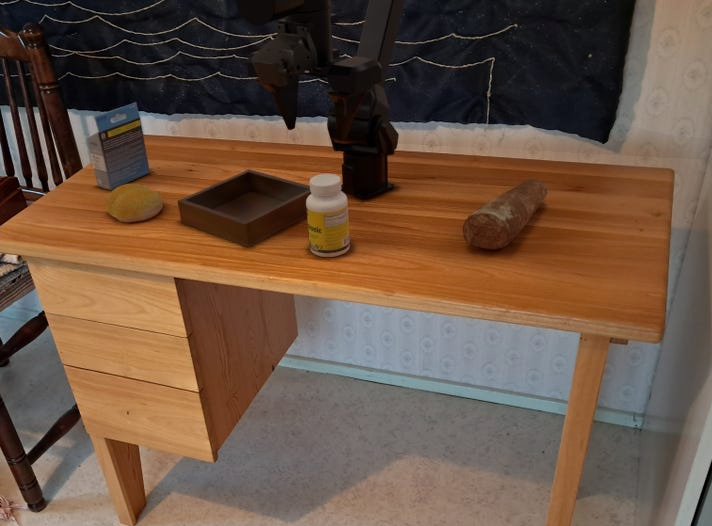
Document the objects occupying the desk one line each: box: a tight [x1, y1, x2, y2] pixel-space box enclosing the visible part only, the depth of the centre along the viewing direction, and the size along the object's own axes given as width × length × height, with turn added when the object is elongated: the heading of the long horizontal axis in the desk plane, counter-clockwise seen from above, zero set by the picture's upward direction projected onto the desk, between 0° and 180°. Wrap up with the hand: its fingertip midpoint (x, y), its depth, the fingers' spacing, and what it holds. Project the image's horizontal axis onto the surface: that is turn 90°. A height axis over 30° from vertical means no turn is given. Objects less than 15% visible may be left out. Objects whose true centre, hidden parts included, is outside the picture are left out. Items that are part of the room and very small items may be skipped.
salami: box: [462, 178, 548, 250], centre depth 98 cm, size 6×19×6 cm, turn 144°
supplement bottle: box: [306, 173, 351, 258], centre depth 96 cm, size 5×5×10 cm
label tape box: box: [86, 101, 151, 191], centre depth 123 cm, size 9×4×12 cm, turn 141°
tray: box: [177, 168, 312, 248], centre depth 109 cm, size 15×15×4 cm
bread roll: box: [104, 183, 164, 223], centre depth 113 cm, size 8×9×4 cm
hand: (316, 134), depth 99 cm, fingers open, 9 cm apart
